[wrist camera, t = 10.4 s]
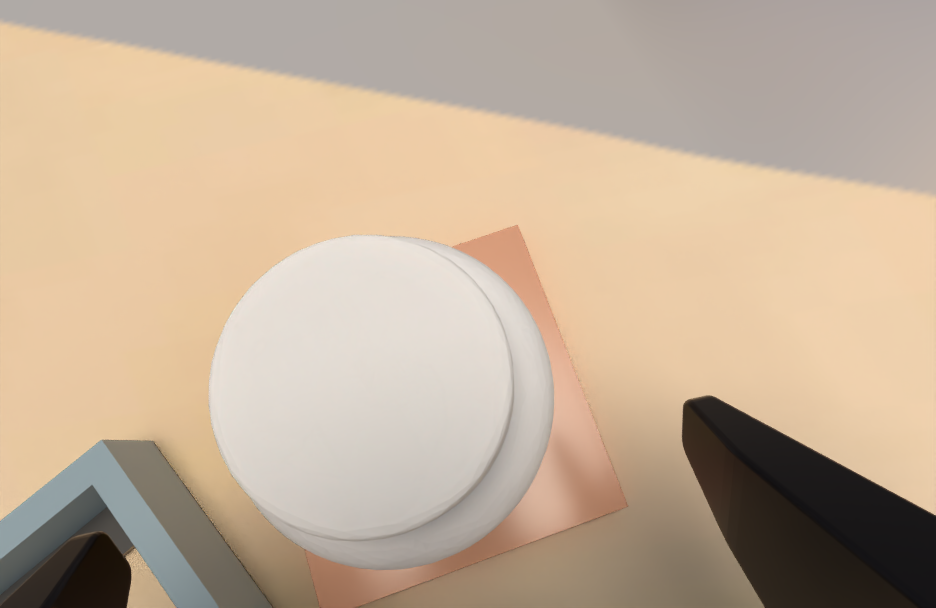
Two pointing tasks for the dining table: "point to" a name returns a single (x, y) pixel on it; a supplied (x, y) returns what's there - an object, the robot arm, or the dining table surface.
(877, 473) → the dining table surface
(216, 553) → the channel
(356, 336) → the supplement bottle
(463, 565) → the tile
